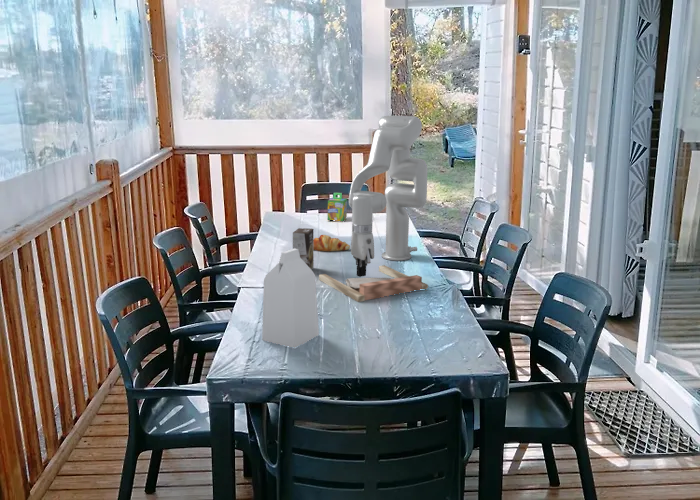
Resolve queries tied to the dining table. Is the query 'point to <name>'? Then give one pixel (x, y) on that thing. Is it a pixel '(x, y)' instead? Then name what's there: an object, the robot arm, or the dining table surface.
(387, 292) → the wooden frame
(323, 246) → the croissant
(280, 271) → the milk
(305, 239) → the coffee box
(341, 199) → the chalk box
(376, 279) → the washcloth
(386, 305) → the dining table surface
